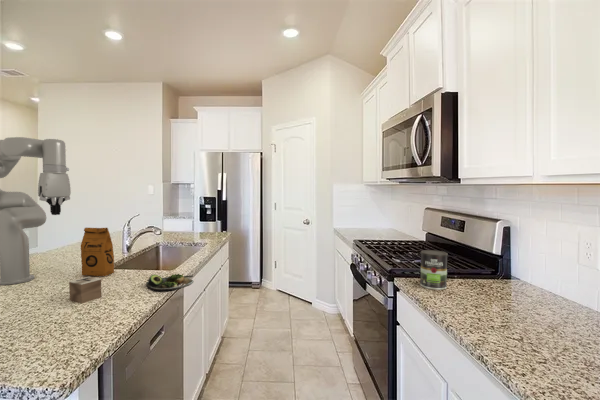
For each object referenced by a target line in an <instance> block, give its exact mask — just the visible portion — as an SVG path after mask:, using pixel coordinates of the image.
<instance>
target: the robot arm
mask: <svg viewBox="0 0 600 400" xmlns="http://www.w3.org/2000/svg"><path fill="white" fill-rule="evenodd" d="M66 151H67V150H66V142H65V141H64V140H62V139H58V138H57V139H56V138H46V139H37V138H31V137H23V136H20V137H19V136H16V137H5V138H4V139H0V179H4V178H6V177H7V176H9V174H11V172H12V171H13V169H14V168H15V167H16V166H17V164H18V163H19V162H20V160H21V158H22V157H23V158H24V157H25V158H26V157H27V158H37V159H42V172H40V173H39V178H38V184H37V196H38V198H39V201H41V202H46V203H47V204H48V205H49V207H50V208H49V209H50V213H51V215H52V216H60V215H61V213H62V212H61V211H62V208H61V207H62V205H63V203H64V202H65V201H70V200H71V193H72V192H71V191H72V190H71V189H72V188H71V183H70V177H69V174H68V173H67V172H69V171H70V168H69V167H67V164H66V163H67V162H66V161H67V160H66V158H67V155H66ZM46 221H47V214H46V212H45V210H44V209H43V208H42V207H41V205H40V204H38V203H37V202H36V200H34V199H33V198H32V197H31V196H30V195H29V194H28V193H26V192H22V191H5V190H3V189H1V188H0V286H8V285H17V284H21V283H27V282H30V281H32V280H34V279H35V275H34V274H30V273H31V270H30V264H31V263H30V240H29V236H28V234H27V233H26V232H25V231H24V229H31V228H38V227H41V226H43V225H44V224H45V223H46Z"/></svg>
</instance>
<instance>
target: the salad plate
mask: <svg viewBox="0 0 600 400" xmlns="http://www.w3.org/2000/svg"><path fill="white" fill-rule="evenodd" d="M192 277H194V275H184V273H181V274H180V273H176V274H171V275H169V276H167V277H162V276H161V275H159V274H151V275H150V277H149V279H147V281H146V282H145V286H146V288H147V289H149V290H150V291H152V292H157V293H165V292H166V293H167V292H172V291H176V290H180V289H184V288H186V287H189V286H191V285H192V284H194V280H193V279H191V278H192ZM182 284H183V285H182ZM179 285H180V286H179Z"/></svg>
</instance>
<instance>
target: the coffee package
mask: <svg viewBox="0 0 600 400" xmlns="http://www.w3.org/2000/svg"><path fill="white" fill-rule="evenodd" d="M83 231H84V234H83V237H82V239H81V243H80V258H81V259H80V261H81V276H86V277H89V276H90V277H107V275H108V276H110V275H113V274H114V273H115V264H114V263H115V257H114V245H113V241H112V237H111V233H110V231H109V228H108V227H84V228H83ZM112 273H113V274H112ZM109 274H110V275H109Z"/></svg>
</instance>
